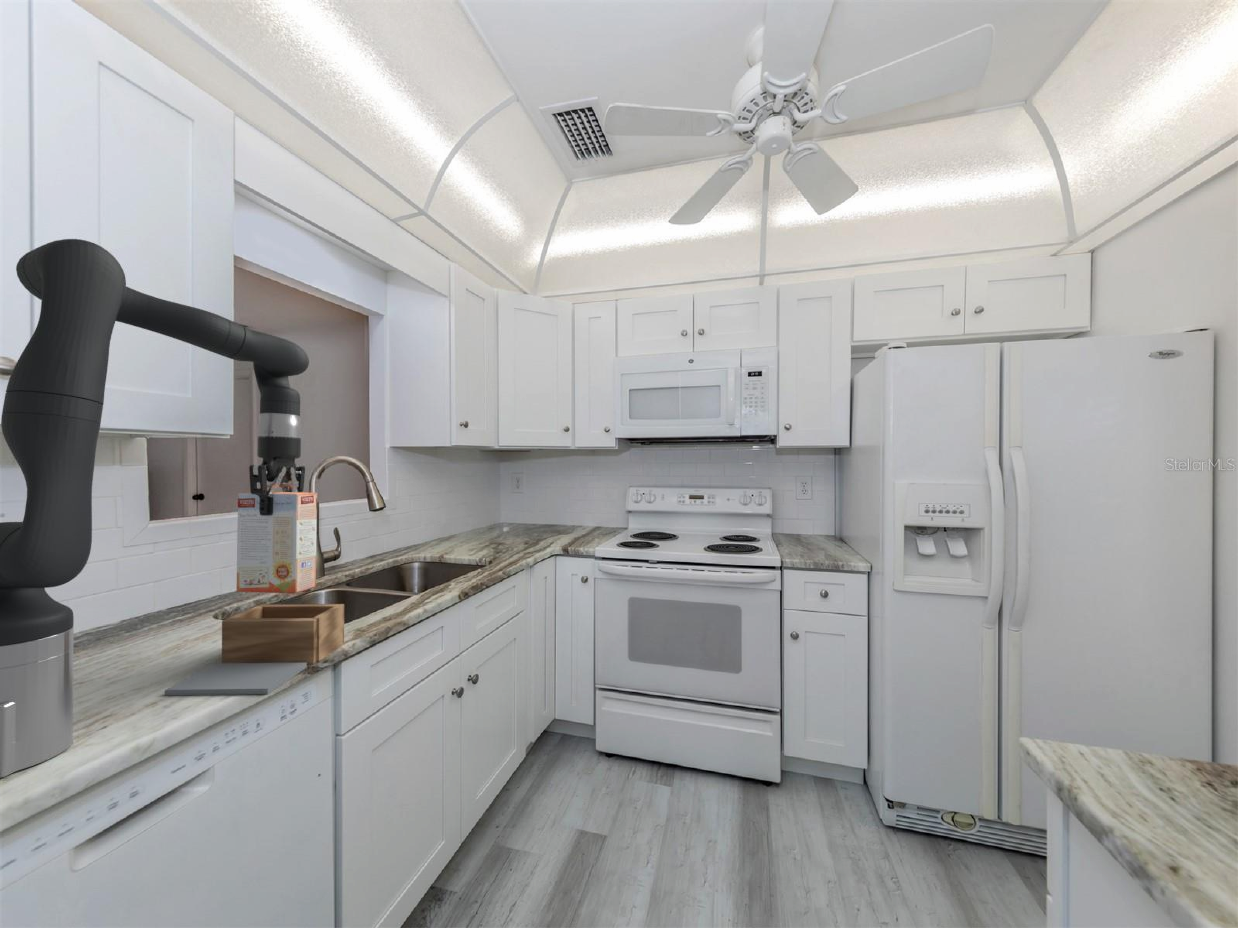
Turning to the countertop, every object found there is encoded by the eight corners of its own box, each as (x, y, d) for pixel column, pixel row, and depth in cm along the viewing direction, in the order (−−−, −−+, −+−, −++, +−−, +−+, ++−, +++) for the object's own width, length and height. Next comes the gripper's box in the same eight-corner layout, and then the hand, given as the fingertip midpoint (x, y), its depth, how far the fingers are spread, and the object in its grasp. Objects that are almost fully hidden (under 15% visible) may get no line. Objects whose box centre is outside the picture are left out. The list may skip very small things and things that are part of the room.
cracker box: (317, 587, 101) (318, 491, 101) (294, 595, 95) (296, 493, 95) (260, 585, 103) (262, 490, 103) (234, 592, 97) (236, 492, 97)
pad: (267, 694, 84) (267, 688, 84) (164, 695, 83) (164, 689, 83) (306, 667, 95) (306, 662, 95) (215, 668, 94) (216, 663, 94)
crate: (315, 663, 97) (315, 620, 97) (219, 664, 96) (220, 621, 96) (345, 642, 108) (346, 604, 108) (260, 643, 107) (260, 604, 107)
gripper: (274, 433, 93) (272, 517, 92) (318, 438, 107) (316, 511, 107) (235, 433, 92) (233, 517, 92) (284, 438, 107) (283, 511, 106)
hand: (278, 513), depth 99 cm, fingers closed on cracker box, 6 cm apart
